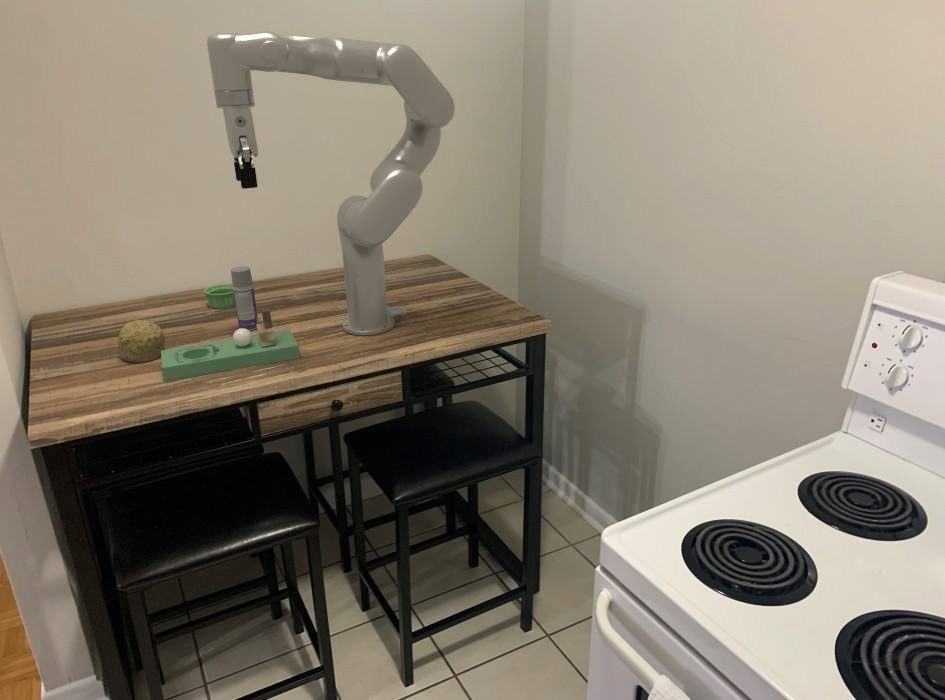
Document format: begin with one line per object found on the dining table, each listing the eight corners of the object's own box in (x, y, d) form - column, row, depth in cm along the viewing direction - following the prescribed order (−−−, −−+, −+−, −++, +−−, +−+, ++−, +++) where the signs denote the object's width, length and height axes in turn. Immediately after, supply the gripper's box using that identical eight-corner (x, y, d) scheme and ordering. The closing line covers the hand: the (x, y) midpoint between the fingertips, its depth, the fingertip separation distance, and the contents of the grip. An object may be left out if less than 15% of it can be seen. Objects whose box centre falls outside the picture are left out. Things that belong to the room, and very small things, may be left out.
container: (246, 323, 182) (237, 265, 176) (262, 325, 181) (254, 266, 175) (235, 330, 178) (226, 271, 172) (252, 332, 177) (243, 272, 171)
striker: (271, 335, 166) (267, 305, 163) (275, 344, 161) (271, 313, 158) (258, 337, 165) (253, 307, 162) (261, 346, 160) (257, 315, 157)
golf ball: (252, 341, 164) (249, 324, 162) (254, 347, 160) (251, 330, 159) (233, 344, 162) (230, 327, 161) (235, 350, 159) (232, 333, 157)
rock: (161, 358, 172) (140, 321, 171) (179, 346, 164) (156, 307, 163) (124, 376, 165) (101, 337, 164) (140, 364, 157) (116, 323, 156)
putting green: (291, 342, 170) (290, 330, 169) (299, 358, 162) (298, 345, 161) (163, 363, 161) (160, 350, 160) (164, 381, 152) (161, 368, 151)
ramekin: (246, 298, 200) (243, 283, 198) (235, 309, 192) (233, 294, 190) (213, 298, 200) (211, 283, 199) (201, 310, 192) (199, 294, 190)
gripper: (259, 101, 143) (270, 189, 150) (248, 95, 158) (259, 176, 164) (219, 103, 140) (232, 192, 147) (212, 97, 155) (224, 179, 162)
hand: (246, 183), depth 156 cm, fingers open, 9 cm apart
